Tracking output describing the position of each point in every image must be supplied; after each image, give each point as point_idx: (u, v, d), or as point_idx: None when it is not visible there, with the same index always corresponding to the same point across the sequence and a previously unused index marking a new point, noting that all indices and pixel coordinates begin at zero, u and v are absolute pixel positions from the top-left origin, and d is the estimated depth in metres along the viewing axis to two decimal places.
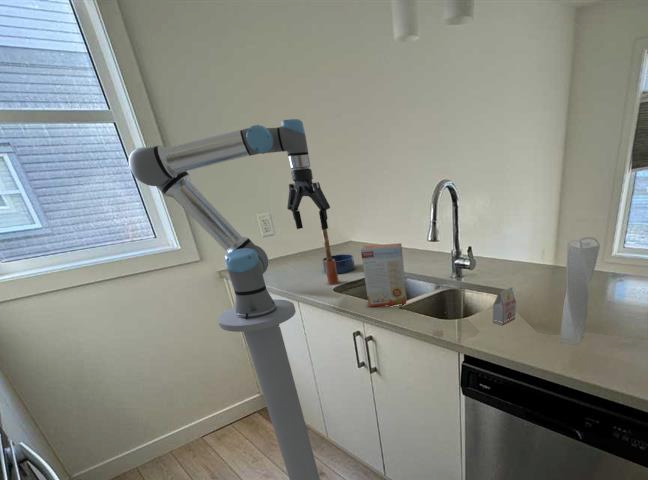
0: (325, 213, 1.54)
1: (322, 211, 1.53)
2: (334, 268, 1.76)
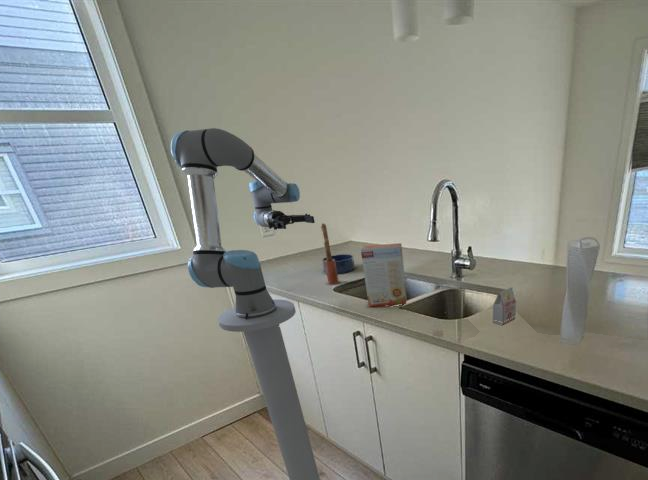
0: None
1: None
2: (334, 268, 1.76)
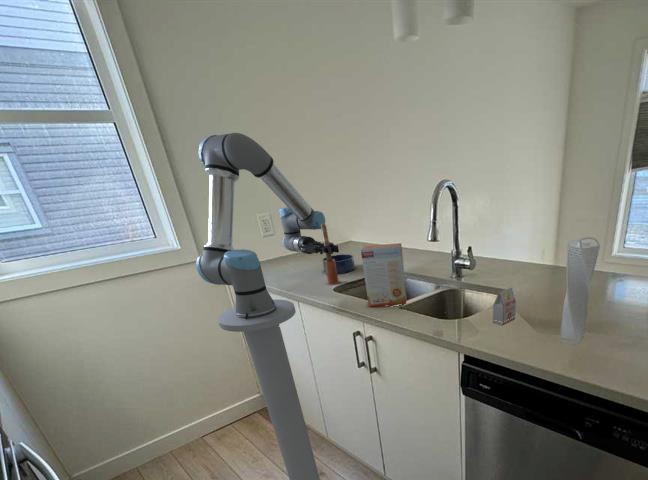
0: None
1: None
2: (334, 268, 1.76)
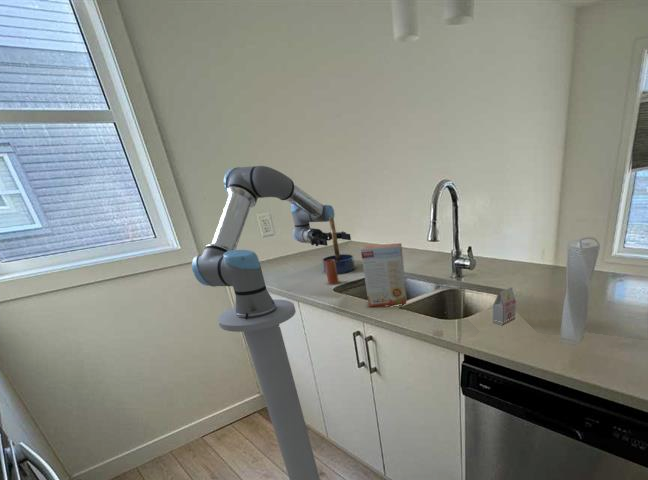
0: None
1: None
2: (334, 268, 1.76)
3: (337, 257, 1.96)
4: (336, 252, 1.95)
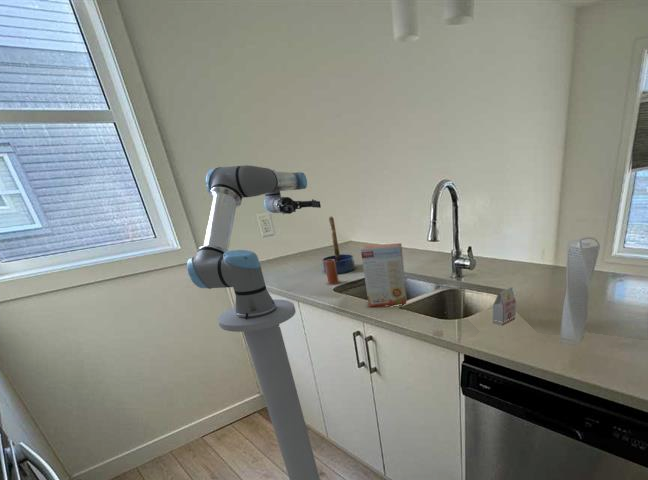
0: None
1: None
2: (334, 268, 1.76)
3: (337, 257, 1.96)
4: (336, 252, 1.95)
